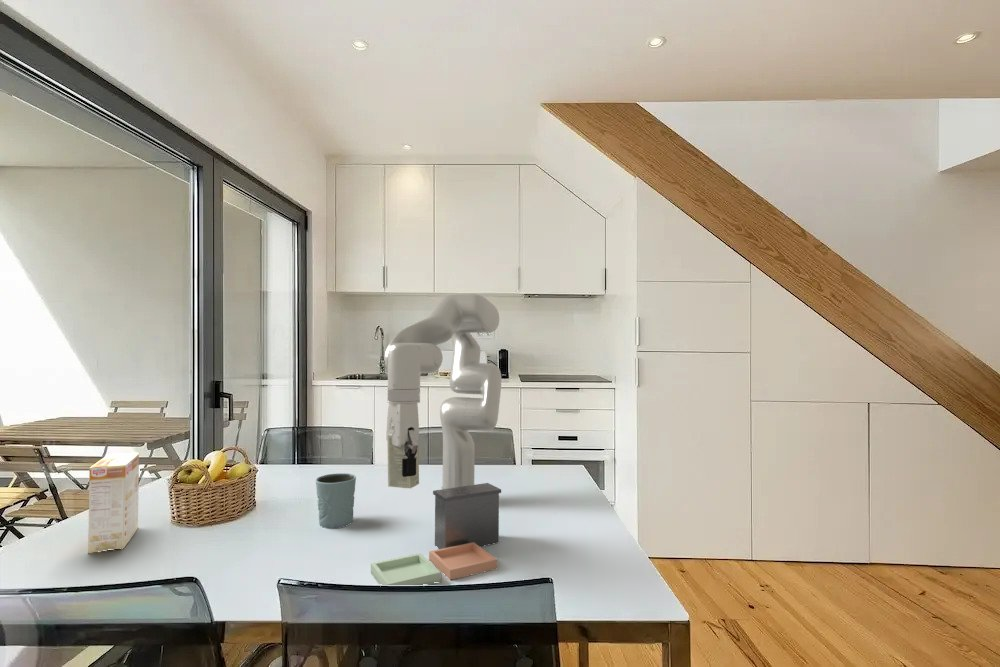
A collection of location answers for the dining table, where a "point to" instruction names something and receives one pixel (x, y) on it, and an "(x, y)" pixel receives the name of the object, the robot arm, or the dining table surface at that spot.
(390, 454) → the skincare box
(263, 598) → the dining table surface
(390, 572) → the sage tray
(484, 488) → the charcoal unit
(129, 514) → the coffeecake box
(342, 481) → the grey-green cup
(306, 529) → the dining table surface
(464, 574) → the terracotta tray
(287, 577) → the dining table surface
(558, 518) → the dining table surface
